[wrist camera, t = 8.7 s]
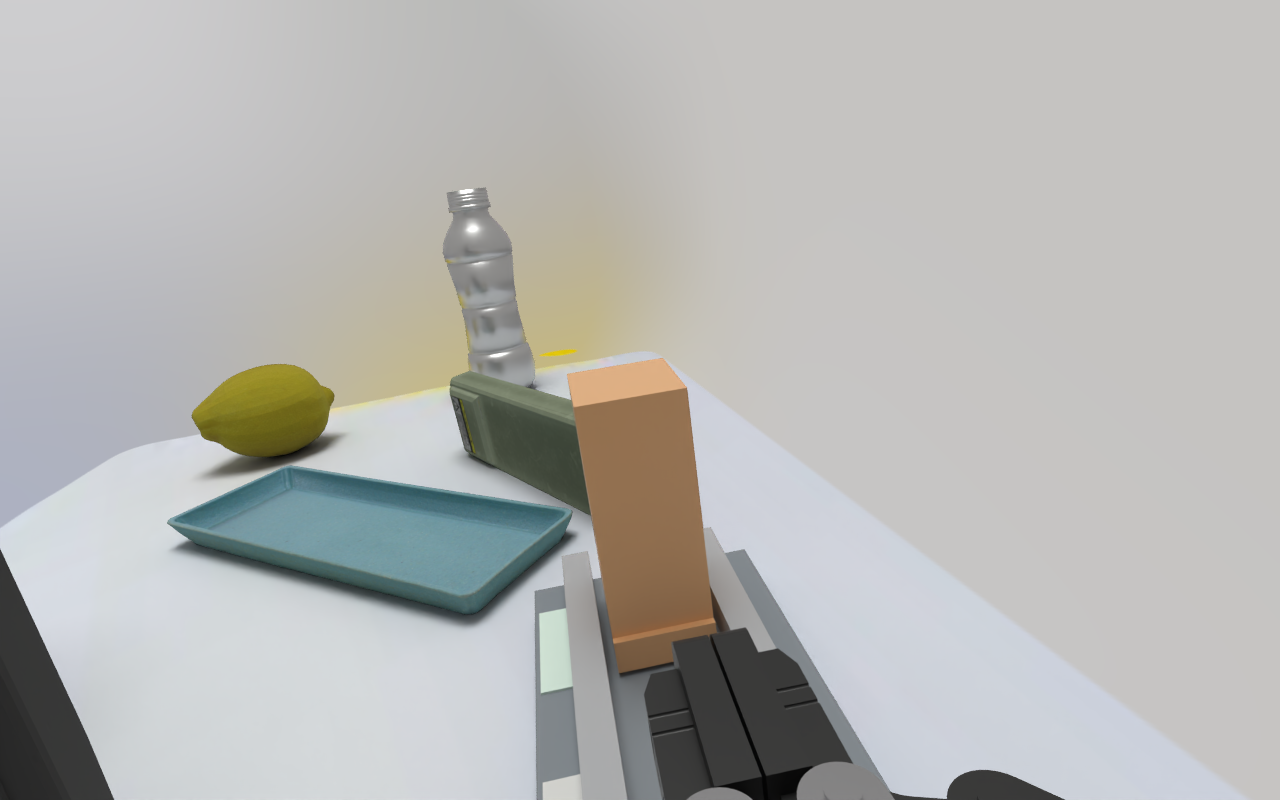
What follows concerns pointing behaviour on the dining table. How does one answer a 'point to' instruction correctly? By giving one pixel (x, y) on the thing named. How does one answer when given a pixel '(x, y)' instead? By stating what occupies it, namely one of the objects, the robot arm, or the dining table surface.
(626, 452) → the switch tab
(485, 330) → the plastic bottle
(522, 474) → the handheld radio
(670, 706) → the robot arm
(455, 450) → the dining table surface
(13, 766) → the card reader
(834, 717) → the grey slotted base
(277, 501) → the rectangular tray
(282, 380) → the lemon
